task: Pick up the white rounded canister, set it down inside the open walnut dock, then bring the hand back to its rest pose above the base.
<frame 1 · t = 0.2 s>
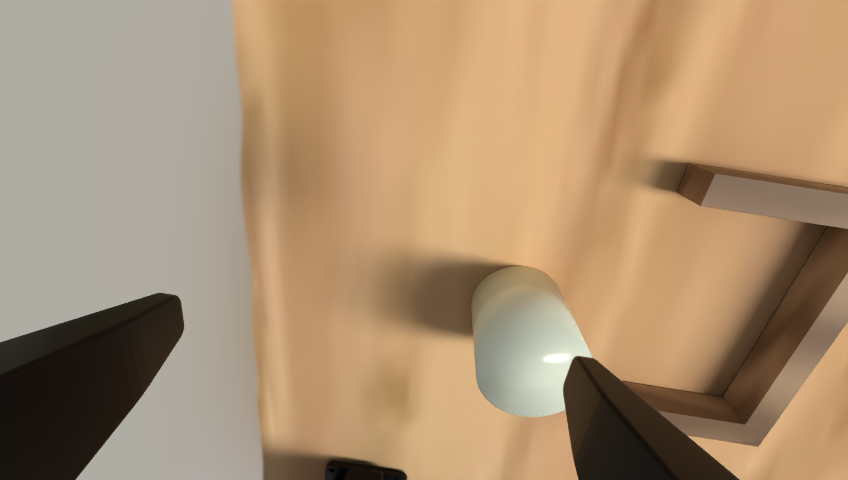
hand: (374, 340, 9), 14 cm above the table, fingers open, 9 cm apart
dock: (722, 309, 23), on the table
white rounded canister: (516, 305, 24), on the table
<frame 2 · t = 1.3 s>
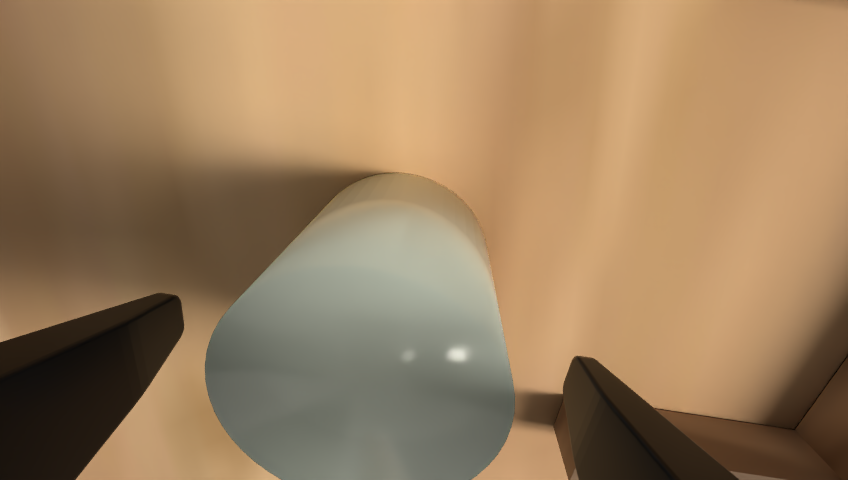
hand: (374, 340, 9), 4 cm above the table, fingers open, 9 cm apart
dock: (805, 259, 12), on the table
white rounded canister: (399, 258, 13), on the table
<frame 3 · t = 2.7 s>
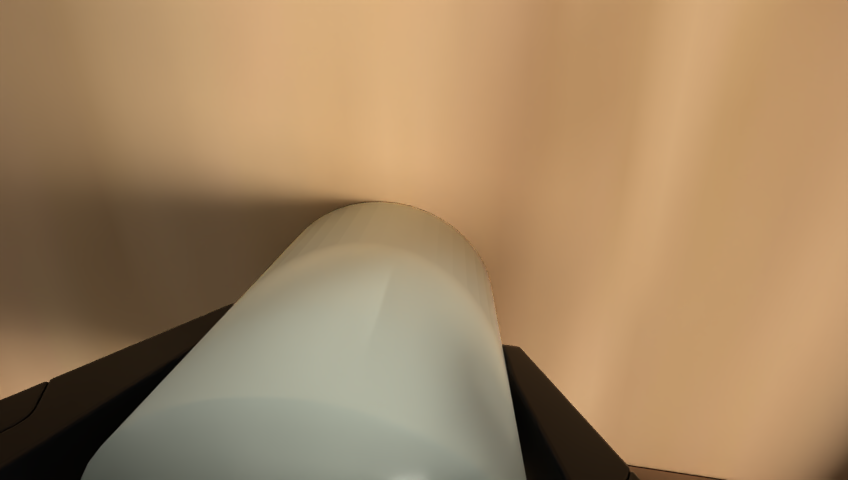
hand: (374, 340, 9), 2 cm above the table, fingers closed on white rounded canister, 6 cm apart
white rounded canister: (385, 303, 10), on the table, touching gripper
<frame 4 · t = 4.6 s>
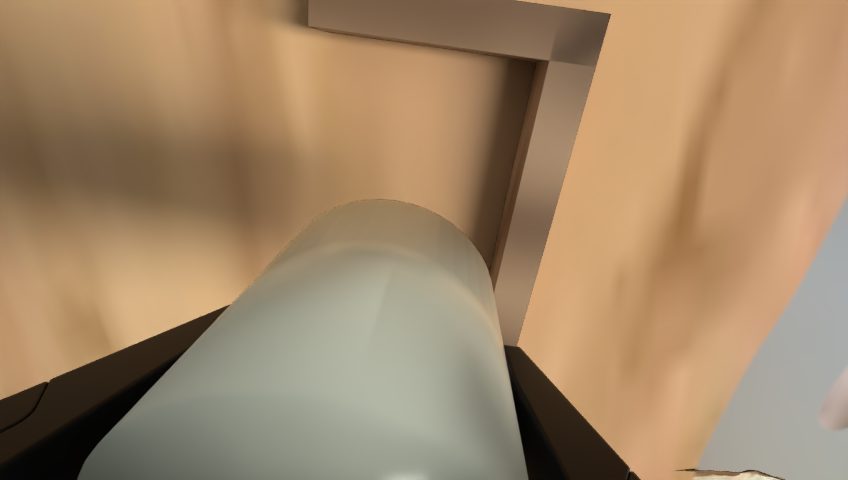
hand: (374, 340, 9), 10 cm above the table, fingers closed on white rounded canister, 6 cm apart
dock: (437, 205, 18), on the table
white rounded canister: (385, 301, 10), point 9 cm above the table, touching gripper
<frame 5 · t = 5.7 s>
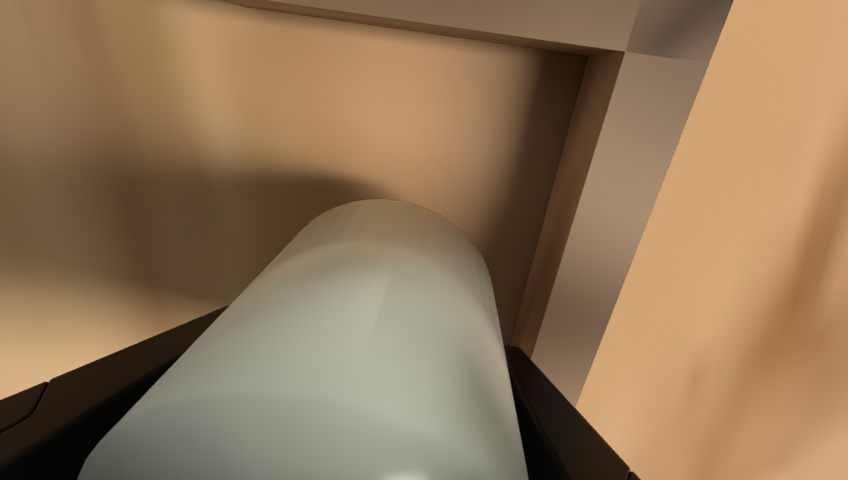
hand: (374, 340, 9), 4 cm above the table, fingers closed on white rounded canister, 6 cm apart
dock: (429, 272, 12), on the table
white rounded canister: (385, 301, 10), point 2 cm above the table, touching gripper
when the fingers open (3 cm above the table, at t = 6.5 s): white rounded canister drops 2 cm, on the table.
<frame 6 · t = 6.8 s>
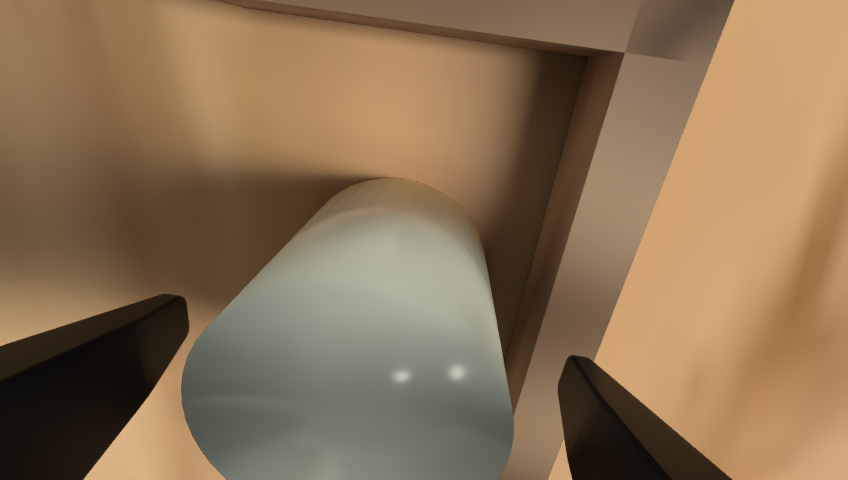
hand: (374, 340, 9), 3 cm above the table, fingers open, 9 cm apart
dock: (428, 273, 12), on the table
white rounded canister: (394, 266, 12), on the table
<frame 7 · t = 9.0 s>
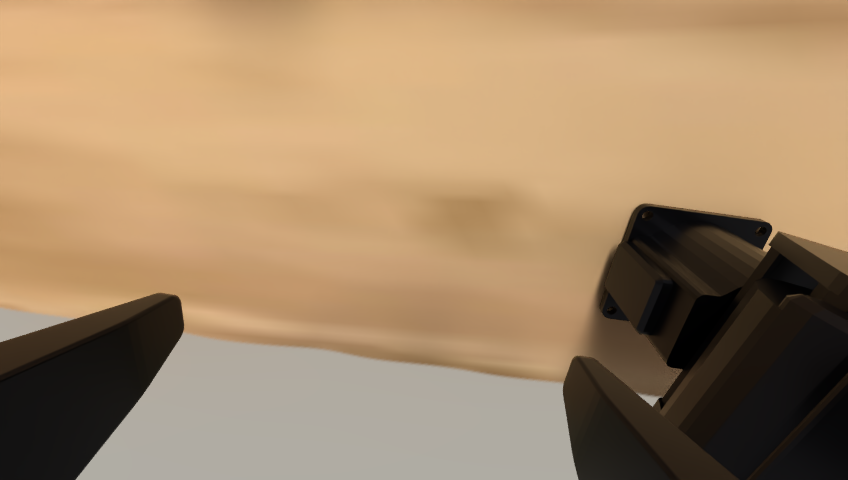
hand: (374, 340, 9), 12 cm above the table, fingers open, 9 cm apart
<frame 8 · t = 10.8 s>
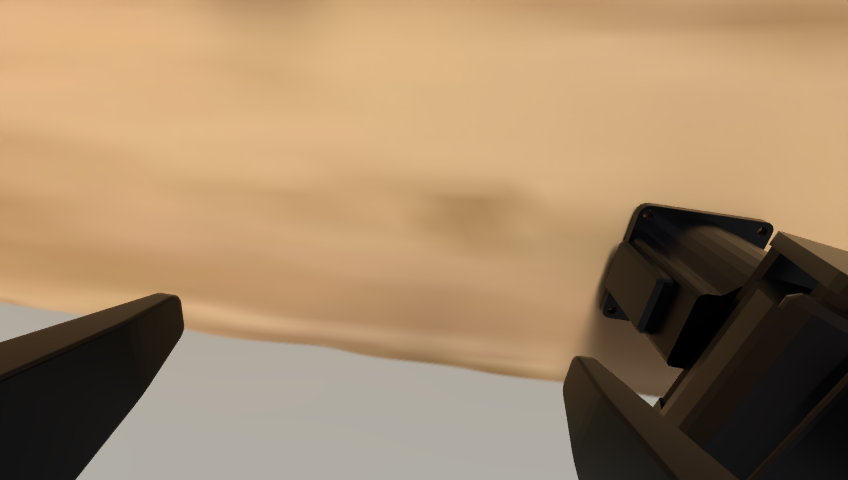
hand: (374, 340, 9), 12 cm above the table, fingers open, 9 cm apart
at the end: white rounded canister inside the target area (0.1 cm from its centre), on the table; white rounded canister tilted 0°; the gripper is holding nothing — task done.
